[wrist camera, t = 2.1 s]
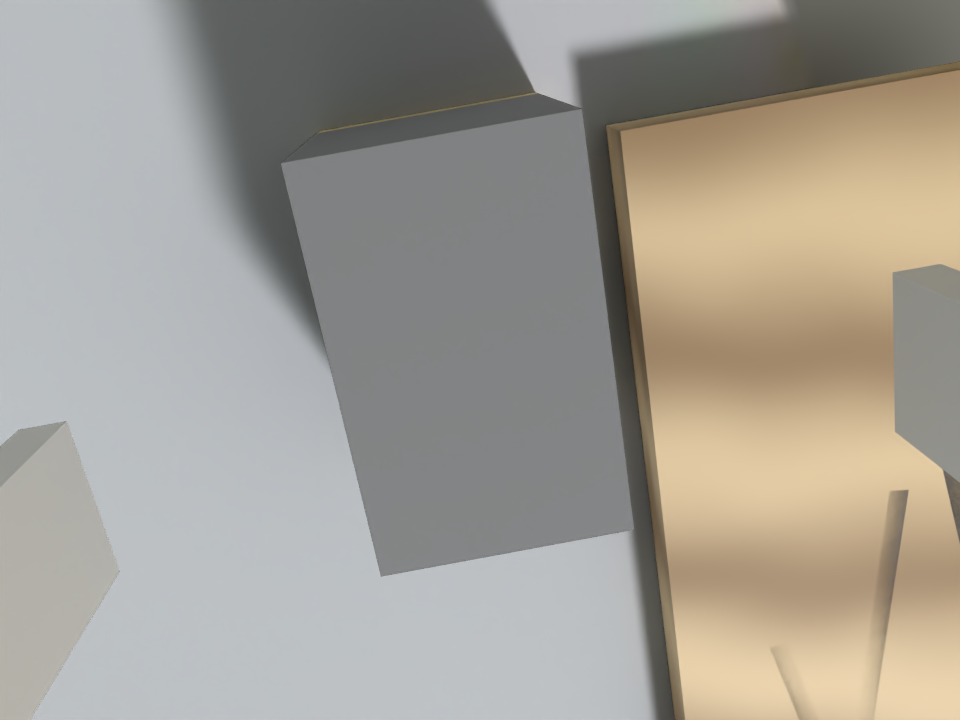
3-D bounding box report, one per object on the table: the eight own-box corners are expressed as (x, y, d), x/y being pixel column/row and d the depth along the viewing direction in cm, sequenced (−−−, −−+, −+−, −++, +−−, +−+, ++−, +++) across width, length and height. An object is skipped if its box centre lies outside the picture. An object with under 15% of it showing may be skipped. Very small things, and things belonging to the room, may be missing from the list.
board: (605, 125, 20) (620, 131, 19) (1116, 33, 20) (1168, 32, 19) (693, 880, 28) (707, 923, 27) (1056, 811, 28) (1089, 851, 27)
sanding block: (318, 131, 20) (280, 163, 14) (534, 92, 20) (582, 109, 14) (389, 445, 23) (381, 576, 17) (579, 410, 23) (634, 529, 17)
